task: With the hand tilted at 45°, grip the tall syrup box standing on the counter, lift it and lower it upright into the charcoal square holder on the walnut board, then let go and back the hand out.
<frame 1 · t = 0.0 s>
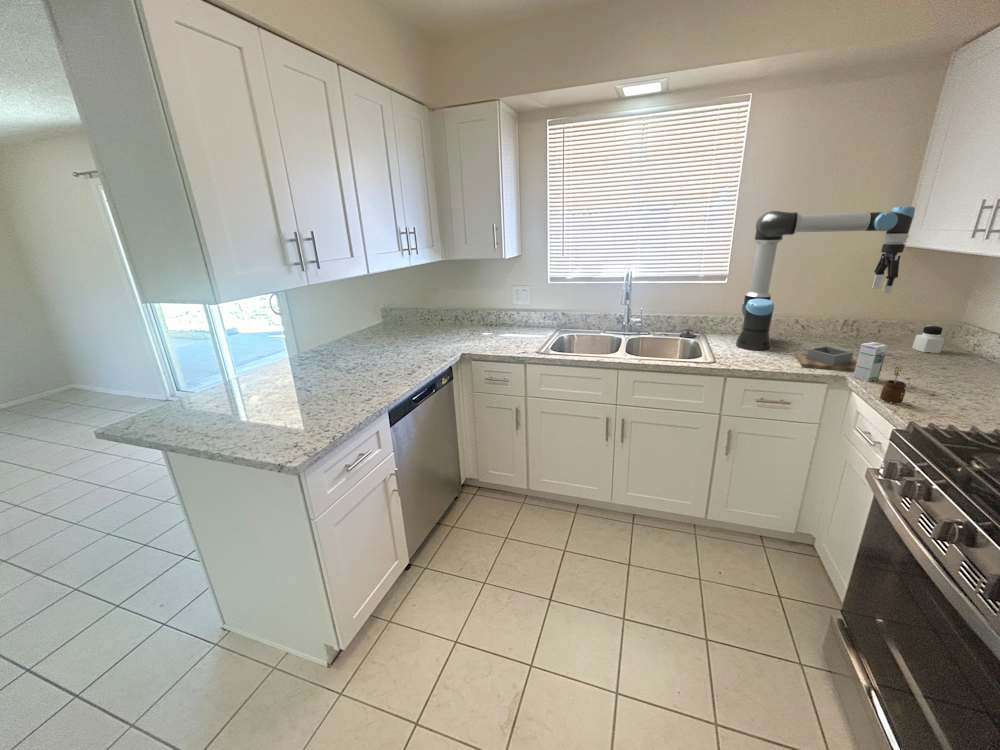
hand: (880, 290, 195), 28 cm above the worktop, tool pointing down, fingers open, 13 cm apart
brown potted plant: (890, 401, 147), on the worktop
walnut board: (826, 363, 185), on the worktop
holder: (828, 355, 184), on the walnut board, point 4 cm above the worktop
syrup box: (864, 379, 167), on the worktop
medicine bottle: (925, 351, 198), on the worktop
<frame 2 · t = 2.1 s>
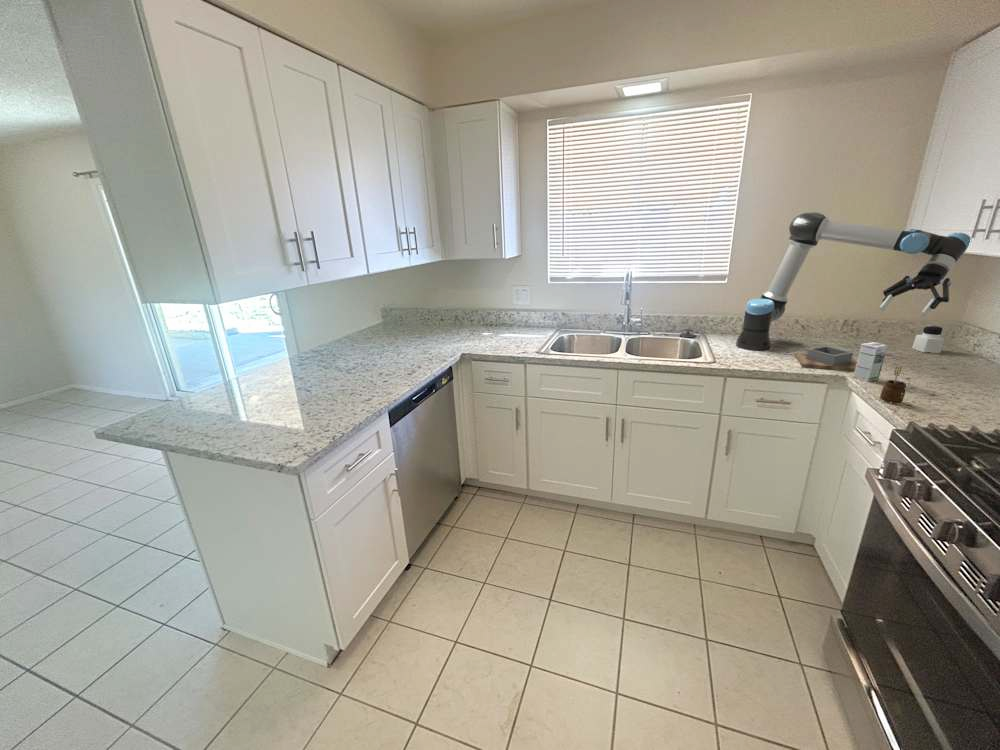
hand: (901, 311, 163), 26 cm above the worktop, tool tilted 45°, fingers open, 13 cm apart
nothing on the worktop moved.
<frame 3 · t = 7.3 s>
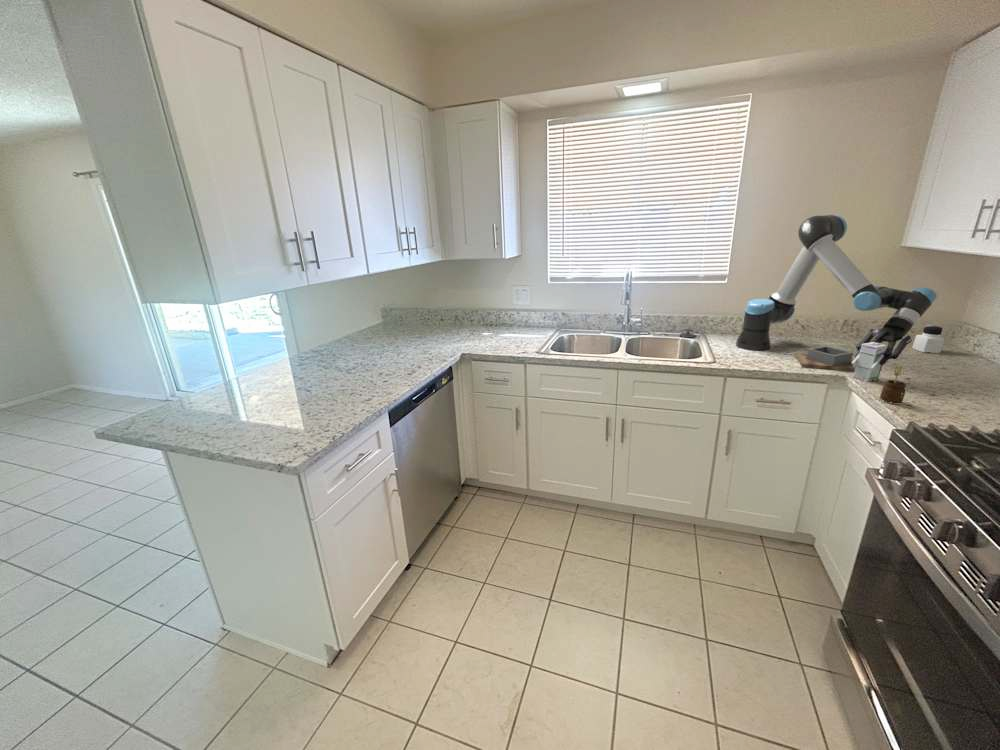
hand: (862, 367, 164), 5 cm above the worktop, tool tilted 45°, fingers closed on syrup box, 6 cm apart
syrup box: (865, 379, 167), on the worktop, touching gripper
everything else where it was.
when the fingers open (8 cm above the worktop, at t = 12.9 s): syrup box drops 1 cm, resting on walnut board.
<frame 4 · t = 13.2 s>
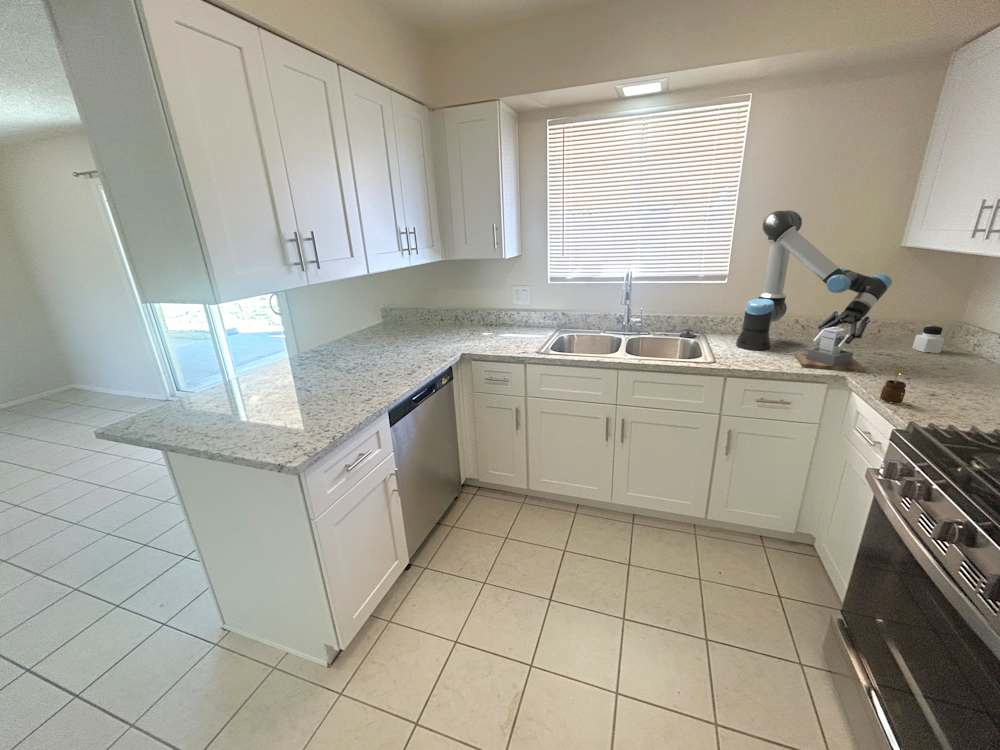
hand: (826, 345, 181), 9 cm above the worktop, tool tilted 45°, fingers open, 9 cm apart
syrup box: (827, 360, 185), point 1 cm above the worktop, touching walnut board
everything else where it was.
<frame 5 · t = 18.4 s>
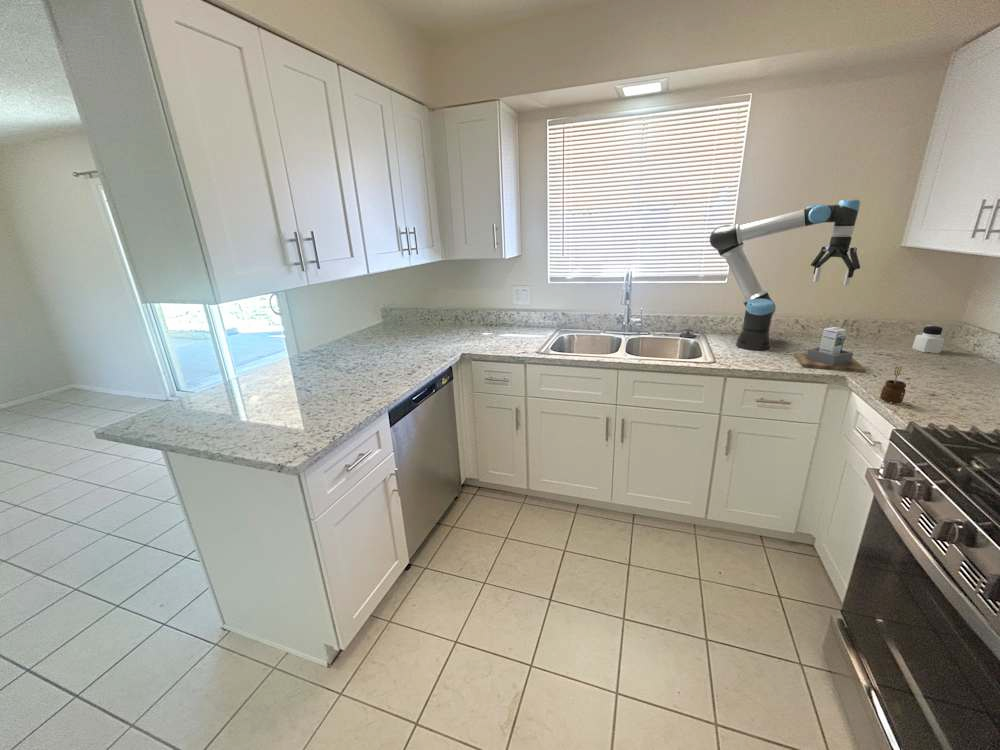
hand: (830, 283, 198), 32 cm above the worktop, tool pointing down, fingers open, 13 cm apart
nothing on the worktop moved.
at the end: syrup box 0.1 cm off-centre on the holder, point 1.3 cm above the holder's base; syrup box tilted 0°; the gripper is holding nothing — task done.
